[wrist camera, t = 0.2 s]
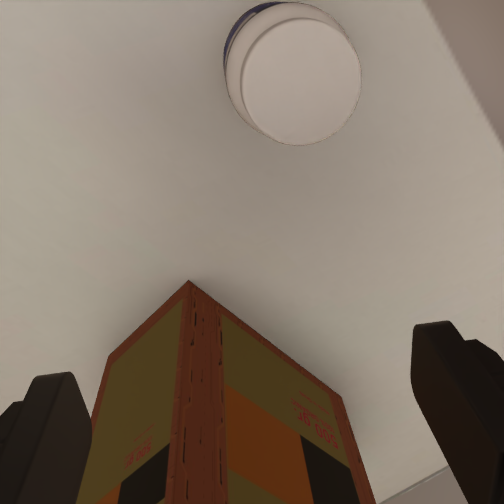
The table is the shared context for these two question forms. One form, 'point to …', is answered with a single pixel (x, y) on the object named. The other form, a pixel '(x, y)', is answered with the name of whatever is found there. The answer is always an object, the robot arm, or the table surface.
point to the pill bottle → (291, 72)
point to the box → (216, 419)
